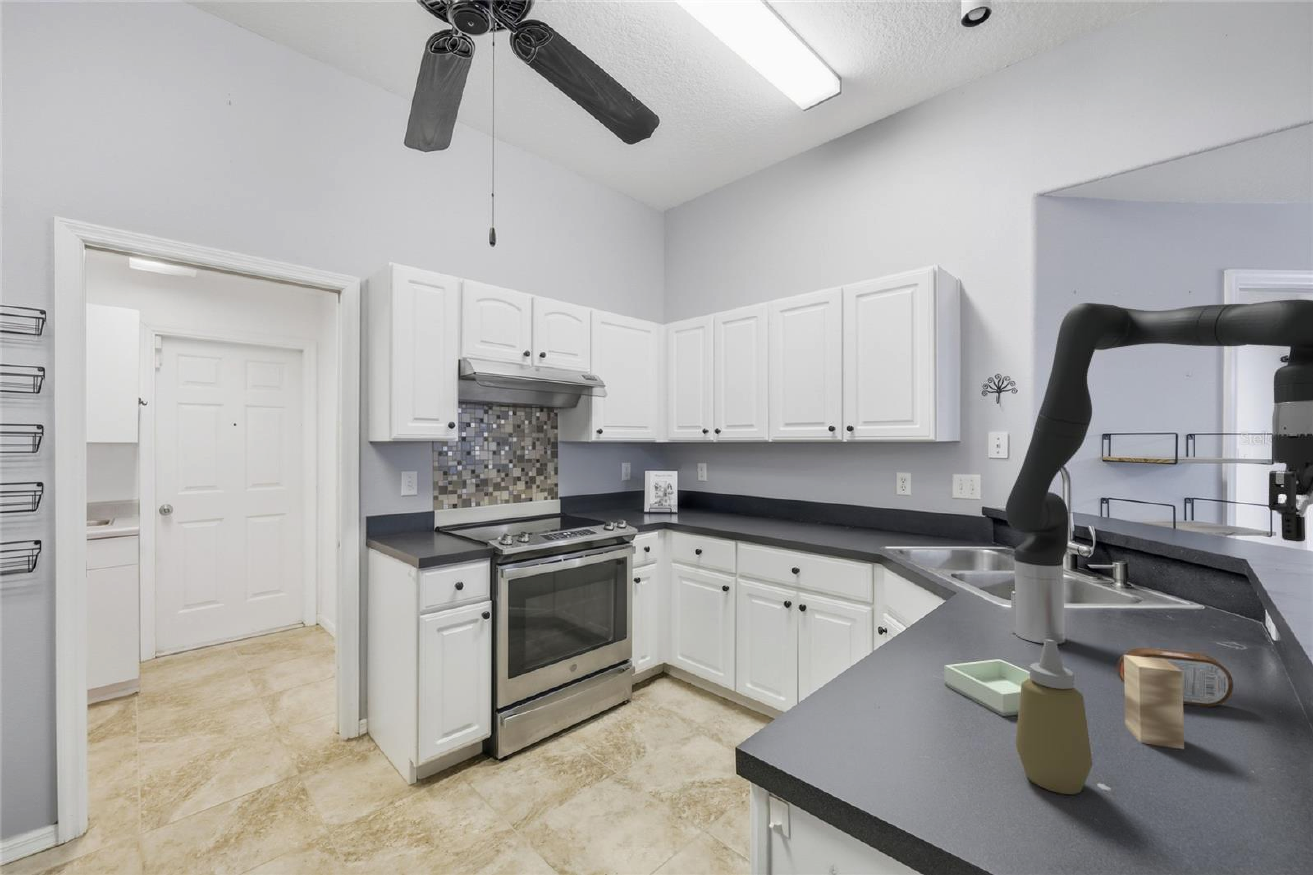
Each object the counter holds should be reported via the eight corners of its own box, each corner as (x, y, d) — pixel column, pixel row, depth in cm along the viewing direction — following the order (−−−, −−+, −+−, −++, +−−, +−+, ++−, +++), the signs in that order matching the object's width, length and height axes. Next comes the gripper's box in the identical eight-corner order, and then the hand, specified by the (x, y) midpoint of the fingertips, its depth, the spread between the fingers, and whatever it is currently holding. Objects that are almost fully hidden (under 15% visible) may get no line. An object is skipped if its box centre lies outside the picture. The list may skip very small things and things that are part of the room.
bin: (944, 684, 100) (944, 665, 100) (999, 677, 103) (999, 659, 104) (1003, 716, 88) (1002, 694, 88) (1063, 707, 91) (1063, 686, 92)
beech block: (1140, 742, 81) (1138, 666, 81) (1125, 726, 85) (1123, 654, 86) (1184, 749, 79) (1182, 671, 79) (1166, 732, 83) (1164, 659, 84)
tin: (1225, 704, 93) (1224, 653, 93) (1237, 712, 90) (1236, 660, 90) (1116, 691, 98) (1115, 643, 98) (1125, 698, 95) (1124, 649, 95)
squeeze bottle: (1001, 765, 75) (999, 631, 75) (1057, 762, 75) (1054, 629, 76) (1048, 803, 67) (1046, 653, 67) (1110, 800, 67) (1107, 651, 68)
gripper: (1306, 433, 89) (1309, 534, 88) (1244, 432, 85) (1247, 537, 85) (1377, 431, 82) (1380, 541, 81) (1313, 430, 78) (1316, 545, 78)
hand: (1312, 539), depth 83 cm, fingers open, 8 cm apart
